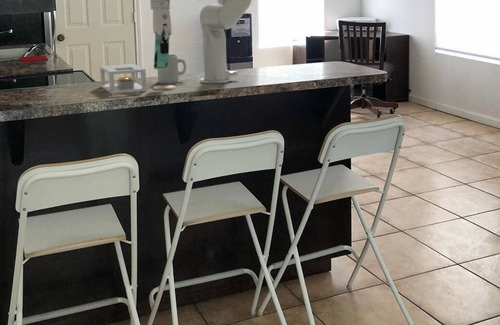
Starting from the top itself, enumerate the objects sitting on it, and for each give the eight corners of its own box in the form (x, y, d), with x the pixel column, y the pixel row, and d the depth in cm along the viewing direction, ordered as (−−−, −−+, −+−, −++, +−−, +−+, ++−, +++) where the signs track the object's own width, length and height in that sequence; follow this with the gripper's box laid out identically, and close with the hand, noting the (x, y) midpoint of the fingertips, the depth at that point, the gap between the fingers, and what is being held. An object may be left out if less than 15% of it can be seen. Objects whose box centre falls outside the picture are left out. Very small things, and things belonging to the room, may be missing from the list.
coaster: (171, 85, 283) (171, 84, 283) (178, 89, 275) (178, 87, 275) (150, 87, 279) (150, 86, 279) (156, 91, 271) (156, 89, 271)
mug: (160, 84, 288) (158, 57, 285) (156, 80, 296) (155, 55, 293) (188, 82, 291) (187, 55, 288) (184, 79, 299) (183, 53, 296)
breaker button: (130, 86, 277) (129, 76, 276) (133, 88, 272) (133, 78, 271) (118, 87, 275) (117, 77, 274) (121, 89, 270) (120, 79, 269)
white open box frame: (135, 84, 288) (133, 63, 286) (146, 90, 272) (145, 69, 270) (101, 87, 283) (99, 66, 280) (111, 94, 267) (109, 71, 264)
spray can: (168, 68, 277) (170, 17, 273) (167, 70, 272) (170, 18, 268) (154, 67, 277) (156, 16, 272) (153, 69, 272) (155, 17, 267)
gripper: (176, 6, 262) (178, 54, 267) (163, 4, 277) (165, 50, 282) (157, 6, 259) (159, 55, 264) (145, 4, 274) (147, 51, 279)
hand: (162, 52), depth 273 cm, fingers closed on spray can, 5 cm apart
